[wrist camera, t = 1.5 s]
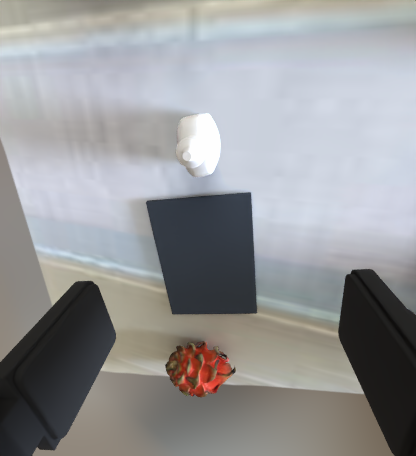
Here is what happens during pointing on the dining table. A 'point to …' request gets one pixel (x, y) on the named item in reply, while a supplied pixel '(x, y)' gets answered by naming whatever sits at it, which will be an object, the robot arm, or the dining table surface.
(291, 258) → the dining table surface
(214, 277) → the mat
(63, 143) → the dining table surface
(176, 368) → the dragon fruit
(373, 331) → the robot arm
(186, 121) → the eye dropper bottle
